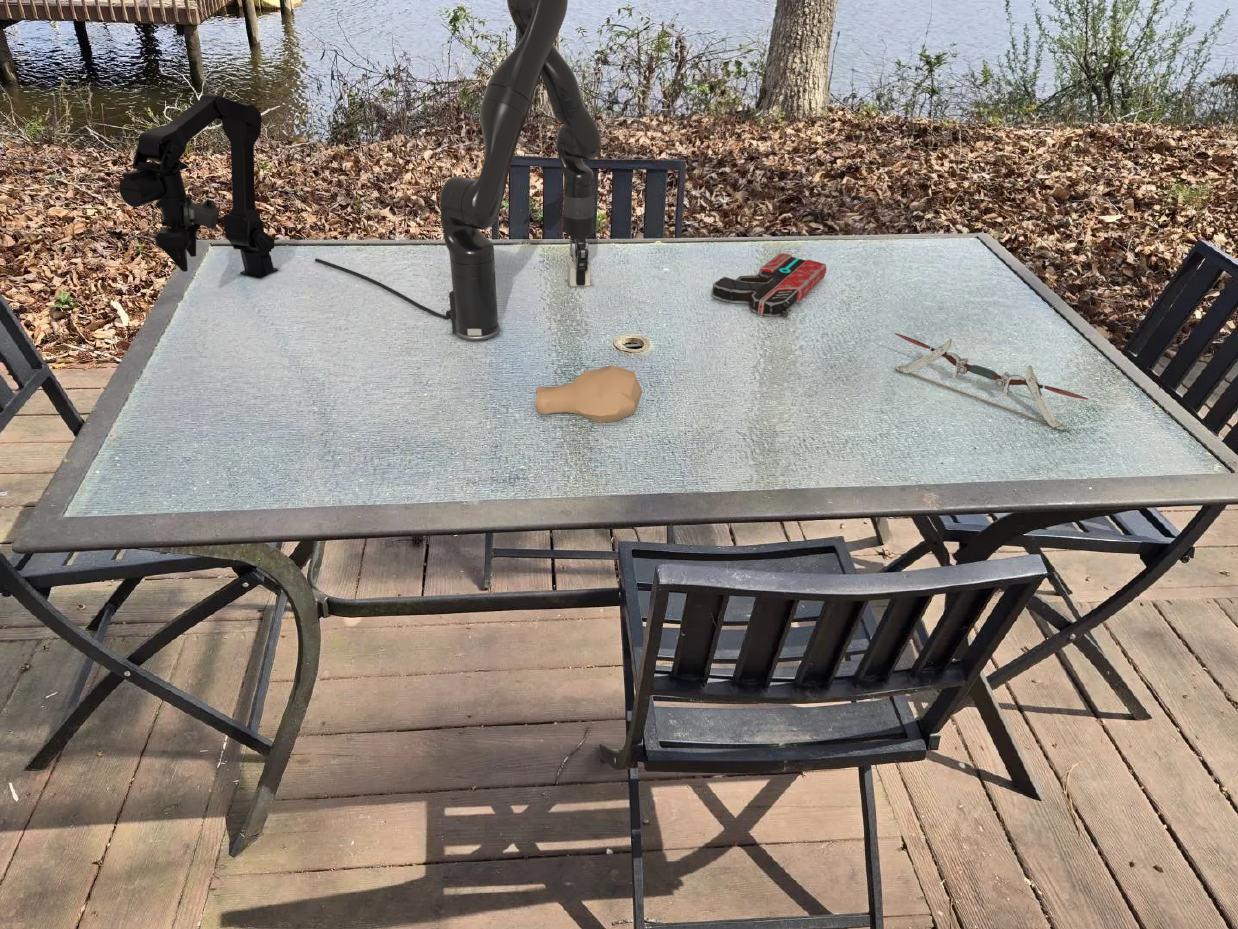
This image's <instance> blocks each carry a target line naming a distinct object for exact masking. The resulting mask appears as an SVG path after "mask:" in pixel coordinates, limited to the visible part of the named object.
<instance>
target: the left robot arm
mask: <svg viewBox="0 0 1238 929" xmlns="http://www.w3.org/2000/svg"><path fill="white" fill-rule="evenodd" d="M261 113H262V112H261V111H259V109H258V108H257V106H255V105H253V104H249V103H241V102H237V101H234V100H231V99H229V98H226V97H225V96H223V95H218V94H211V93H204V94H202V95H201V96H200V97H199V99H198V100H197V101H196V102H194V103H193V104H192V105H190V106H189V107H188V108H187V109H186V110H184V111H183V112H182V113H180V114H179V115H178V116H176V117H175V118H174V119H172V120H170V122H169V123H166V124H164V125H160V126H159V125H158V126H156V127H152V128H150V129H148V130H145V131H143V132H142V133H141V134H140V135H139V136H138V138H137V141H138V143H137V146H136V150H135V154H134V159H133V162H132V166H131V167H132V169H133V170H131V171H125V172H122V178H123V179H122V180H121V181H120V182H119V188H118V192H119V194H120V196H121V198H122V200H123V201H124V202H125V203H126V204H127V205H128V206H130V207H132V208H139V207H143V206H145V205H148V204H150V203H153V202H155V206H156V208H160V212H161V216H162V219H161V221H160V222H161V223H160V224H161V226H162V227H161V228H160V229H159V230H158V232H157V233H156V234H155V236H154V241H155V246H156V247H158V248H159V249H160V250H162V251H164V253H165V254H167V256H168V257H169V258H170V259H171V260H172V261H173V263H174V264H175V265H176V266H177V267H178V269H179V270H180V271H181V272H188V271H189V267H188V266H189V265H188V255H187V253H188V254H189V256H190V257H192V258H194V257H196V256H197V234H198V233H197V231H198V230H199V229H200V228H201V227H202V226H203V227H206V228H207V229H209V230H210V229H211V230H214V229H216V227H217V225H218V223H219V216H220V210H219V209H220V208H219V207H217V205H216V203H215V200H214V199H209V198H206V199H205V201H204V202H203V203H201V202H198V203H196V202H193V200H192V199H193V198H192V197H191V196H190V194H187V192H186V188H185V184H184V180H183V176H182V173H181V172H182V170H186V169H188V167H189V166H188V164H186V163H184V162H183V161H182V160H180V159H181V157H182V156H183V155H184V153H185V152H186V151H187V144H189V142H190V141H191V140H192V139H193V138H194V137H195V136H197V135H199V133H201V132H202V131H204V130H205V128H207V127H209V126H210V125H211V124H212V123H213V122H214V121H215V120H219V121H221V127H222V131H223V133H224V135H225V136H226V138H227V140H228V141H229V143H230V165H231V197H232V208H231V209H230V211H229V212H228V214H227V213H225V214H223V230H222V232H223V233H224V234H225V238H226V240H228V242H229V243H230V244H231V247H232V248H233V249H234V250H239V251H240V255H241V259H242V264H243V268H244V270H242V271H240V272H239V273H240V275H241V276H246V277H250V278H254V279H258V280H259V279H260V280H261V279H263V278H265V277H267V276H270V275H272V274H273V273H276V272H278V271H279V269H278V268H277V267H274V264H273V259H272V255H271V252H272V250H274V249H275V244H276V243H275V241H276V240H275V239H274V238H273V237H272V236H271V235H269V234H268V233H266V232H265V229H264V223H263V220H262V218H261V216H260V215H259V212H258V210H257V208H256V184H255V182H256V180H255V178H256V177H255V144H256V142H257V141H258V139H259V137H260V136H261V134H262V133H261V131H262V121H263V119H262V114H261Z"/></svg>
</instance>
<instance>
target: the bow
mask: <svg viewBox="0 0 1238 929" xmlns="http://www.w3.org/2000/svg"><path fill="white" fill-rule="evenodd" d="M894 335H895V336H897V337H899V338H901V339H903V340H904V341H906V342H908V343H911V344H914V345H916V346H919V347H921V348H924V349H927V350H930V351H931V353H930V354H928V355H925V356H921V357H920V358H918V359H916V360H915V361H913V362H912V363H911V364H910V365H898V366H896V370H897V371H898V372H900V373H902V374H909V375H912V376H915V377H918V378H921V379H923V380H926V381H928V382H931V383H934V384H936V385H940V386H942V387H945V388H948V389H950V390H953V391H956V392H959V393H962V394H964V395H967V396H970V397H972V398H976V399H977V400H980V401H984V402H986V403H989V404H992V405H995V406H998V407H1000V408H1003V409H1005V410H1009V411H1011V412H1014V413H1016V414H1019V415H1022V416H1025V417H1027V418H1030V419H1033V420H1036V421H1039V422H1041V423H1044V424H1046V425H1049V426H1050V427H1052V428H1053V429H1056V430H1061V431H1062V430H1065V428H1066V427H1067V425H1065V424H1064V423H1062V422H1061V421H1060V420H1058V419H1056V418H1055V414H1054V412H1053V409H1052V406H1051V405H1050V403H1049V402H1048V400H1047V398H1046V396H1045V395H1044V394H1043V393H1042V390H1041V389H1043V388H1044V389H1045V390H1047V391H1050V392H1053V393H1056V394H1058V395H1063V396H1065V397H1070V398H1074V399H1081V400H1089V399H1090V398H1088V397H1085V396H1083V395H1080V394H1077V393H1074V392H1071V391H1068V390H1065V389H1062V388H1057V387H1053V386H1049V385H1044V384H1040V383H1039V379H1038V378H1037V376H1036V374H1035V373H1034V369H1033V366H1032V365H1031V364H1030V365H1028V366H1027V367H1026V371H1025V375H1024V376H1022V375H1020V374H1011V373H1009V372H1008V371H1005V372H1004V373H1003V374H1001V375H1000V374H998V373H997V372H996V371H995V370H993V369H989V368H987V367H984V366H981V365H978V364H972V365H971V364H969V358H968V357H967V358H961V356H959V355H958V354H957V353H955V352H952V351H950V352H949V350H950V348H951V345H952V342H953V339H952V338H949V339H948V340H947V341H946V342H945V343H944V344H941V345H939V346H937V347H936V348H934V347H931V346H930V345H928V344H926V343H924V342H922V341H919V340H917V339H914V338H911V337H909V336H906V335H902V334H900V333H897V332H894ZM942 358H944V359H945V360H947V362H949V363H950V364H951V365H953V366H955V367H954V370H953V372H952V374H951V377H952V378H954V379H956V378H957V377H959V376H958V375H959V374H960V375H962V376H965V375H966V374H967V373H968V372H969V373H971V374H974V375H977V376H980V377H983V378H986V379H989V380H992V381H995V382H994V385H995V386H996V387H997V388H998V389H999V388H1000V389H1003V390H1002V394H1001V395H1002V396H1005V397H1007V396H1008V395H1009V394H1010V390H1011V389H1010V386H1026V388H1027V389H1028V391H1029V392H1030V394H1031V396H1032V397H1033V399H1034V401H1035V404H1036V406H1037V408H1038V410H1039V411H1040V414H1041V415H1042V417H1043V418H1044V420H1045V421H1043V420H1041V419H1038V418H1036V417H1033V416H1030V415H1027V414H1025V413H1022V412H1020V411H1017V410H1014V409H1012V408H1011V409H1010V408H1008V407H1005V406H1002V405H1000V404H997V403H994V402H992V401H989V400H986V399H983V398H981V397H978V396H975V395H972V394H971V393H967V392H964V391H961V390H958V389H956V388H953V387H950V386H948V385H945V384H942V383H940V382H937V381H934V380H931V379H929V378H925V377H922V376H920V375H918V374H915V373H913V372H915V371H919V370H921V369H922V368H924V367H925V366H927V365H929V364H930V363H933V362H935V361H937V360H940V359H942ZM1024 377H1025V378H1024Z"/></svg>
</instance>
